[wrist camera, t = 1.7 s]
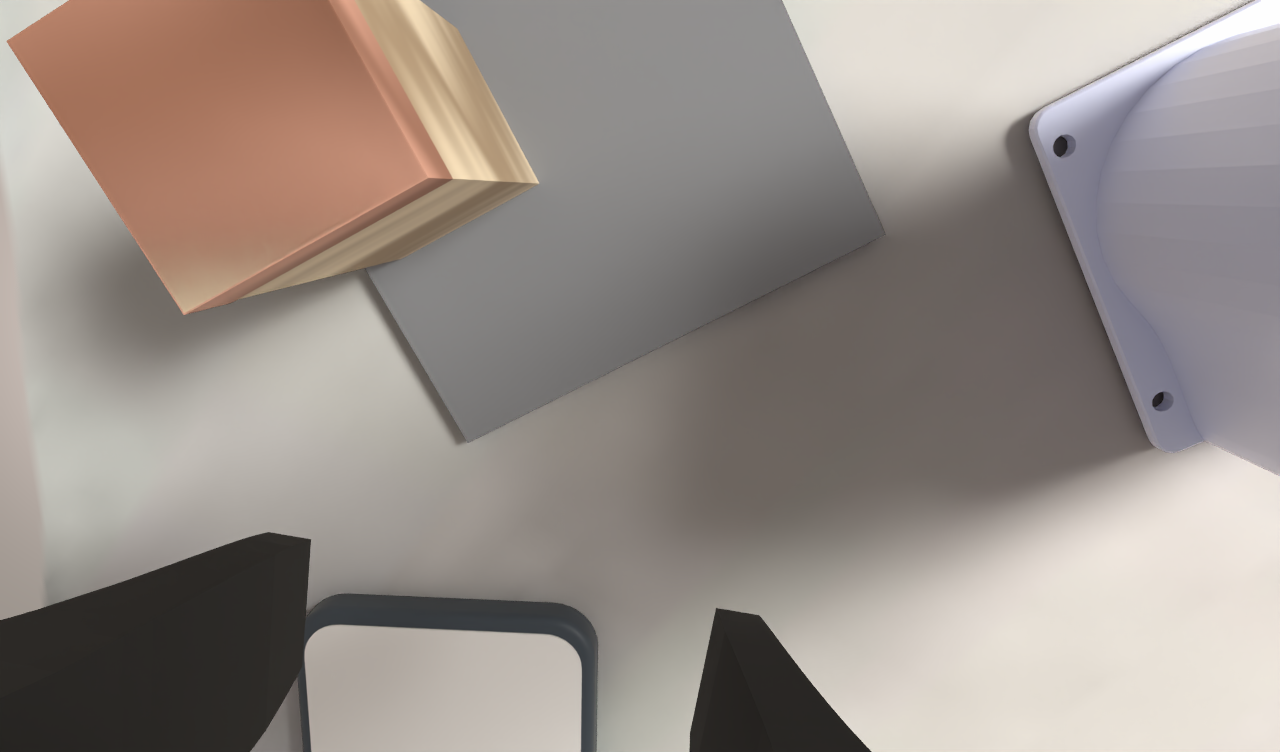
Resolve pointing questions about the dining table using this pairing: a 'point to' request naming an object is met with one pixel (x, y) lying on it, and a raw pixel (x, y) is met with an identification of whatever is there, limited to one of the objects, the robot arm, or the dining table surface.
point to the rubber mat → (625, 194)
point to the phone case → (447, 676)
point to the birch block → (274, 133)
